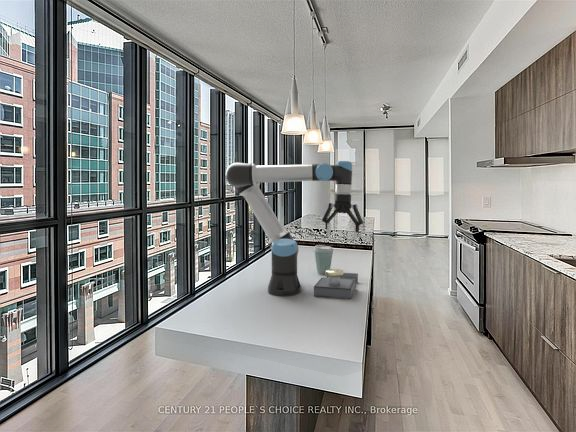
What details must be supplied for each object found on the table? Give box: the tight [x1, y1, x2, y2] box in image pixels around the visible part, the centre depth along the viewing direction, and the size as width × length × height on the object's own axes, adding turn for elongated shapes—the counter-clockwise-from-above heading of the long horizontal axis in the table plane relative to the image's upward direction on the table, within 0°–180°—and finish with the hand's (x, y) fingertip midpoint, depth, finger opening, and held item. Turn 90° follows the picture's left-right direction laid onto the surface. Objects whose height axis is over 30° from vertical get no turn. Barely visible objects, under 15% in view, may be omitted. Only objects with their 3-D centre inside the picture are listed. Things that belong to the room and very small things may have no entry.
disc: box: [324, 268, 345, 277], centre depth 172 cm, size 8×8×2 cm
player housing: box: [313, 276, 356, 300], centre depth 175 cm, size 16×16×9 cm
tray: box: [326, 272, 359, 284], centre depth 188 cm, size 16×16×4 cm
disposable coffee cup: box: [313, 244, 334, 275], centre depth 212 cm, size 11×11×15 cm
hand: (341, 237), depth 188 cm, fingers open, 13 cm apart
